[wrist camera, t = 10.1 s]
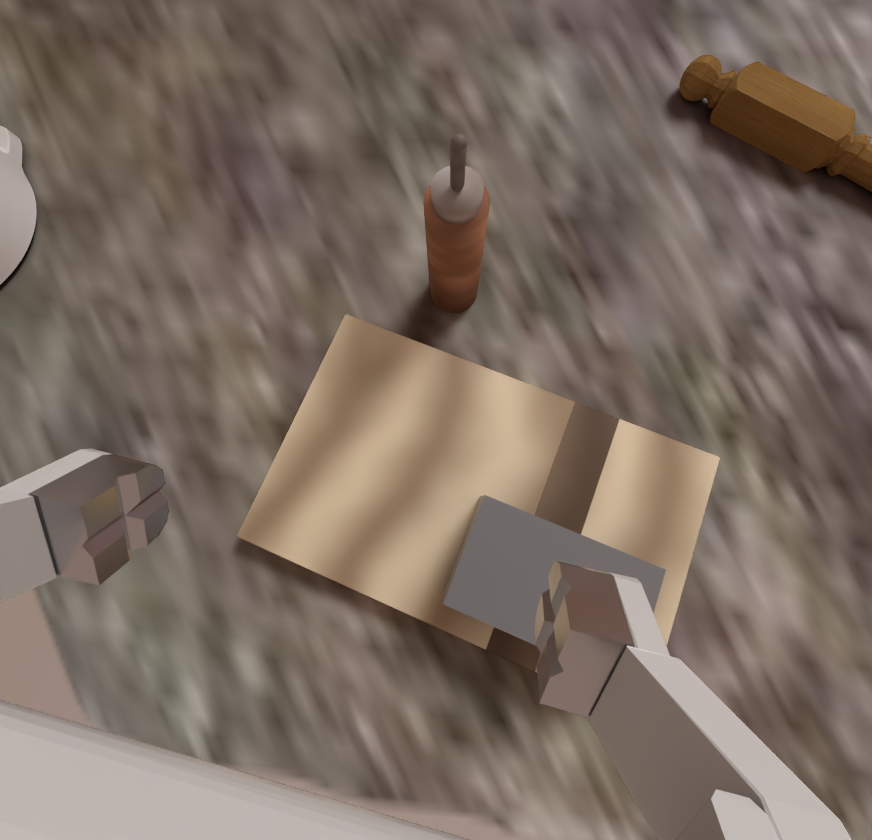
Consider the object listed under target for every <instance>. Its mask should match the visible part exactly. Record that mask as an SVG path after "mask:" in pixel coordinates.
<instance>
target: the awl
mask: <svg viewBox="0 0 872 840" xmlns="http://www.w3.org/2000/svg"><path fill="white" fill-rule="evenodd" d="M466 150H467V141H466V138H465V137H464V136H463V135H462V134H456V135H454V136H453V138H452V140H451V150H450V166H447V167H445V168H443V169H441V170H440V171H438V172H437V173H436V175H435V176H434V178H433V179H432V182H431V185H430V186H429V188H428V189H427V191H426V193H425V196H424V216H425V229H426V243H427V257H428V270H429V284H430V295H431V299H432V301H433V302H434V304H435V305H436V306H437V307H438V308H439V309H441V310H443V311H446V312H450V313H457V312H461V311H464V310H466V309H467V308H469V307H470V306H471V305H472V304H473V302H474V301H475V299H476V295H477V289H478V282H479V275H480V269H481V262H482V255H483V248H484V241H485V234H486V227H487V220H488V214H489V207H490V198H489V194H488V192H487V190H486V188H485V186H484V184H483V180H482V178H481V176H480V175H479V174H478V173H477V172H476V171H475V170H474V169H472V168H470V167H468V166H466Z"/></svg>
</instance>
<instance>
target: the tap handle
mask: <svg viewBox="0 0 872 840" xmlns="http://www.w3.org/2000/svg"><path fill="white" fill-rule="evenodd" d="M721 70H722V69H721V64H720V62H719V60H718V59H717V58H716V57H714V56H712V55H703V56H700V57H698V58H697V59H695V60H694V61H693V62H691V64H690V65H689V66H688V67H687V69H686V70H685V72H684V74H683V76H682V78H681V81H680V93H681V95H682V96H683V97H684V98H685V99H687V100H689V101H698V100H701V99H703V98H705V97H706V99H707V100H708V107H709V108H714V109H713V111H712V113H711V116H710V123H711V124H712V125H714V126H716V127H718V128H720V129H721V130H723V131H725V132H727V133H729V134H731V135H733V136H735V137H737V138H739V139H740V140H742V141H744V142H746V143H748V144H750V145H752V146H754V147H756V148H757V149H759V150H761V151H763V152H765V153H767V154H769V155H771V156H773V157H775V158H776V159H778V160H780V161H782V162H784V163H786V164H788V165H790V166H792V167H794V168H795V169H797V170H799V171H801V172H803V173H805V172H809V171H811V170H812V169H814V168H817V169H819V168H821V167H823V166H827V172H828V174H829V175H830V176H834V175H836V174H841V175H843V176H845V177H847V178H848V179H850V180H852V181H853V182H855V183H857V184H858V185H860V186H862V187H864V188H865V189H867V190H869V191H870V192H872V145H871V144H870V143H869V140H870V138H871V137H870V136H869V135H866V134H860V135H857V136H854V131H855V128H853V126H854V124H855V112H854V110H853V109H851V108H849V107H847V106H845V105H843V104H841V103H839V102H837V101H835V100H833V99H831V98H829V97H827V96H825V95H823V94H821V93H819V92H817V91H815V90H813V89H811V88H809V87H807V86H806V85H804V84H802V83H800V82H798V81H796V80H794V79H792V78H790V77H788V76H786V75H784V74H782V73H780V72H778V71H776V70H774V69H772V68H770V67H768V66H766V65H764V64H762V63H760V62H754V63H751V64H749V65H748V66H746V67H744V68H743V69H742V70H741V71H740V72H739V73H738V74H736V71H731V72H729V73H726V74H722V73H721Z"/></svg>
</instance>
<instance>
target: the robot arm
mask: <svg viewBox="0 0 872 840" xmlns="http://www.w3.org/2000/svg"><path fill="white" fill-rule="evenodd" d="M36 214H37V211H36V201H35V196H34V193H33V190H32V187H31V185H30V183H29V181H28V180H27V178H26V176H25V174H24V172H23V169H22V144H21V141H20V139H19V138H18V137H17V136H16V135H14V134H13V133H12V132H10V131H9V130H7V129H6V128H5V127H3V126H0V284H2V283H3V282H4V281H5V280H6V279H7V278H8V276H9V275H10V274H11V273H12V272H13V271H14V269H15V268H16V267H17V265H18V264H19V263H20V261H21V260H22V258H23V256H24V255H25V253H26V251H27V249H28V247H29V245H30V242H31V239H32V237H33V233H34V229H35V224H36ZM164 485H165V479H164V474H163V470H162V469H161V468H159V467H158V466H156V465H153V464H149V463H145V462H142V461H138V460H134V459H130V458H126V457H123V456H119V455H115V454H110V453H106V452H102V451H98V450H94V449H80V450H78V451H76V452H74V453H72V454H70V455H68V456H66V457H63V458H61V459H59V460H57V461H55V462H53V463H51V464H49V465H47V466H45V467H43V468H40V469H38V470H36V471H34V472H32V473H30V474H28V475H26V476H24V477H22V478H19V479H17V480H15V481H13V482H11V483H9V484H7V485H5V486H3V487H1V488H0V603H1V602H3V601H5V600H8V599H10V598H12V597H15V596H17V595H19V594H21V593H24V592H26V591H28V590H30V589H33V588H35V587H37V586H40V585H42V584H44V583H46V582H49V581H51V580H53V579H56V578H57V576H61V577H66V578H70V579H74V580H78V581H83V582H87V583H91V584H96V585H100V584H102V583H103V582H104V581H105V580H106V579H108V578H109V577H110V576H111V575H112V574H114V573H115V572H116V571H117V570H118V569H120V568H121V567H122V566H123V565H124V564H126V563H127V562H128V561H129V559H130V555H131V551H133V550H136V549H138V548H141V547H144V546H147V545H148V544H149V543H151V542H152V541H153V540H154V539H155V538H156V537H157V536H159V534H160V532H161V531H162V529H163V527H164V526H165V524H166V522H167V518H168V513H169V508H168V501H167V500H166V498H165V497H164V496H163V494H162V493H161V492H160V490H161V489H162V487H163V486H164ZM56 575H57V576H56ZM548 579H549V588H550V589H548V590H547V591H545V592H543V593H542V595H541V598H540V601H539V604H538V608H537V614H536V619H535V645H536V646H537V647H538V649H539V650H540V652H541V653H542V655H541V657H540V660H539V662H538V665H537V676H538V690H539V703H541V704H544V705H547V706H551V707H554V708H558V709H561V710H564V711H568V712H571V713H574V714H578V715H581V716H584V717H588V718H589V720H588V721H589V722H590V724H591V726H592V728H593V729H594V731H595V733H596V734H597V736H598V738H599V740H600V741H601V743H602V745H603V747H604V748H605V750H606V752H607V753H608V755H609V757H610V759H611V760H612V762H613V764H614V765H615V767H616V769H617V771H618V772H619V774H620V776H621V778H622V779H623V781H624V783H625V784H626V786H627V788H628V790H629V791H630V793H631V795H632V796H633V798H634V800H635V802H636V803H637V805H638V807H639V809H640V810H641V812H642V814H643V815H644V817H645V819H646V821H647V822H648V824H649V826H650V827H651V829H652V831H653V833H654V834H655V836H656V838H657V840H851V838H850V836H849V834H848V833H847V831H846V829H845V827H844V826H843V824H842V822H841V821H840V820H839V819H838V818H837V817H836V816H835V815H834V814H833V813H832V812H831V811H830V810H829V809H828V808H827V807H826V806H825V805H824V804H823V803H822V802H821V801H820V800H819V799H818V798H817V797H816V796H815V794H814V793H813V792H812V791H811V790H810V789H809V788H808V787H807V786H806V785H805V784H804V783H803V782H802V781H801V780H800V779H799V778H798V777H797V776H796V775H795V774H794V773H793V772H792V771H791V770H790V769H789V768H788V767H787V766H786V765H785V764H784V763H783V762H782V761H781V760H780V759H779V758H778V757H777V756H776V755H775V754H774V753H773V752H772V751H771V750H770V749H769V748H768V747H767V746H766V745H765V744H764V743H763V742H762V741H761V740H760V739H759V738H758V737H757V736H756V735H755V734H754V733H753V732H752V731H751V730H750V729H749V728H748V727H747V726H746V725H745V724H744V723H743V722H742V721H741V720H740V719H739V718H738V717H737V716H736V715H735V714H734V713H733V712H732V711H731V710H730V709H729V708H728V707H727V706H726V705H725V704H724V703H723V702H722V701H721V700H720V699H719V698H718V697H717V696H716V695H715V694H714V693H713V692H712V691H711V690H710V689H709V688H708V687H707V686H706V685H705V684H704V683H703V682H702V681H701V680H700V679H699V678H698V677H697V676H696V675H695V674H694V673H693V672H692V671H691V670H690V669H689V668H688V667H687V666H686V665H685V664H684V663H683V662H682V661H681V660H680V659H678V658H674V657H670V654H669V652H668V649H667V647H666V644H665V642H664V639H663V637H662V634H661V632H660V629H659V627H658V624H657V622H656V619H655V617H654V614H653V612H652V609H651V607H650V604H649V601H648V599H647V596H646V594H645V591H644V589H643V586H642V584H641V582H640V581H639V580H638V579H637V578H633V577H628V576H623V575H619V574H614V573H606V572H602V571H597V570H593V569H589V568H585V567H580V566H576V565H572V564H567V563H563V562H559V561H555V563H554V564H553V566H552V568H551V570H550V573H549V575H548ZM0 840H469V839H465V838H462V837H459V836H455V835H452V834H449V833H445V832H442V831H439V830H435V829H432V828H428V827H425V826H421V825H419V824H415V823H412V822H408V821H405V820H402V819H398V818H395V817H391V816H389V815H385V814H382V813H379V812H375V811H372V810H368V809H365V808H362V807H358V806H355V805H352V804H348V803H345V802H342V801H338V800H335V799H332V798H328V797H325V796H322V795H318V794H315V793H312V792H308V791H305V790H302V789H298V788H295V787H291V786H288V785H284V784H281V783H278V782H275V781H271V780H268V779H265V778H261V777H258V776H255V775H251V774H248V773H245V772H241V771H238V770H235V769H231V768H228V767H225V766H221V765H218V764H215V763H211V762H208V761H205V760H201V759H198V758H194V757H191V756H188V755H184V754H181V753H178V752H174V751H171V750H168V749H164V748H161V747H158V746H154V745H151V744H148V743H144V742H141V741H138V740H134V739H131V738H128V737H124V736H121V735H117V734H114V733H111V732H107V731H104V730H101V729H97V728H94V727H91V726H87V725H83V724H80V723H77V722H74V721H70V720H67V719H64V718H60V717H57V716H53V715H50V714H47V713H43V712H40V711H37V710H33V709H30V708H27V707H23V706H20V705H17V704H13V703H10V702H6V701H3V700H0Z"/></svg>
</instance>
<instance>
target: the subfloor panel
mask: <svg viewBox="0 0 872 840" xmlns="http://www.w3.org/2000/svg"><path fill="white" fill-rule="evenodd" d="M719 459H720V457H717V456H714V455H712V454H709V453H707V452H704V451H701V450H699V449H696V448H694V447H691V446H688V445H686V444H683V443H681V442H678V441H675V440H673V439H670V438H668V437H665V436H662V435H660V434H657V433H654V432H652V431H649V430H647V429H644V428H641V427H639V426H636V425H634V424H631V423H628V422H626V421H623V420H621V419H618V418H615V417H613V416H610V415H608V414H605V413H602V412H600V411H597V410H594V409H592V408H589V407H587V406H584V405H581V404H579V403H576V402H574V401H571V400H568V399H566V398H563V397H561V396H558V395H555V394H553V393H550V392H548V391H545V390H542V389H540V388H537V387H534V386H532V385H529V384H527V383H524V382H521V381H519V380H516V379H514V378H511V377H508V376H506V375H503V374H501V373H498V372H495V371H493V370H490V369H488V368H485V367H482V366H480V365H477V364H474V363H472V362H469V361H467V360H464V359H461V358H459V357H456V356H454V355H451V354H448V353H446V352H443V351H441V350H438V349H435V348H433V347H430V346H428V345H425V344H422V343H420V342H417V341H414V340H412V339H409V338H407V337H404V336H401V335H399V334H396V333H394V332H391V331H388V330H386V329H383V328H381V327H378V326H375V325H373V324H370V323H368V322H365V321H362V320H360V319H357V318H354V317H352V316H349V315H347V314H346V315H345V317H344V319H343V321H342V323H341V325H340V327H339V329H338V331H337V333H336V335H335V337H334V339H333V341H332V343H331V345H330V347H329V349H328V351H327V353H326V355H325V357H324V359H323V361H322V363H321V366H320V368H319V370H318V372H317V374H316V376H315V378H314V380H313V382H312V384H311V386H310V388H309V390H308V392H307V394H306V396H305V398H304V400H303V402H302V404H301V406H300V408H299V410H298V412H297V414H296V416H295V418H294V421H293V423H292V425H291V427H290V429H289V431H288V433H287V435H286V437H285V439H284V441H283V443H282V445H281V447H280V449H279V451H278V453H277V455H276V457H275V459H274V461H273V463H272V465H271V467H270V469H269V471H268V474H267V476H266V478H265V480H264V482H263V484H262V486H261V488H260V490H259V492H258V494H257V496H256V498H255V500H254V502H253V504H252V506H251V508H250V510H249V512H248V514H247V516H246V518H245V520H244V522H243V524H242V527H241V529H240V531H239V533H238V535H237V537H239V538H241V539H244V540H246V541H248V542H250V543H252V544H255V545H257V546H259V547H261V548H263V549H266V550H268V551H270V552H272V553H274V554H277V555H279V556H281V557H283V558H285V559H288V560H290V561H292V562H294V563H296V564H299V565H301V566H303V567H305V568H307V569H310V570H312V571H314V572H316V573H318V574H320V575H323V576H325V577H327V578H329V579H331V580H334V581H336V582H338V583H340V584H342V585H345V586H347V587H349V588H351V589H353V590H356V591H358V592H360V593H362V594H364V595H367V596H369V597H371V598H373V599H375V600H378V601H380V602H382V603H384V604H386V605H389V606H391V607H393V608H395V609H397V610H400V611H402V612H404V613H406V614H408V615H411V616H413V617H415V618H417V619H419V620H422V621H424V622H426V623H428V624H430V625H433V626H435V627H437V628H439V629H441V630H444V631H446V632H448V633H450V634H452V635H455V636H457V637H459V638H461V639H463V640H466V641H468V642H470V643H472V644H474V645H477V646H479V647H481V648H483V649H485V650H488V651H490V652H492V653H494V654H496V655H499V656H501V657H503V658H505V659H507V660H510V661H512V662H514V663H516V664H518V665H521V666H523V667H525V668H527V669H529V670H532V671H534V672H536V673H537V665H538V662H539V660H540V657H541V655H542V653H541V652H540V650H539V649H538V647H537V646H536V645H533V644H531V643H529V642H527V641H524V640H522V639H520V638H518V637H515V636H513V635H511V634H509V633H506V632H504V631H502V630H500V629H497V628H495V627H493V626H491V625H488V624H486V623H484V622H482V621H479V620H477V619H475V618H473V617H470V616H468V615H466V614H464V613H461V612H459V611H457V610H455V609H452V608H450V607H448V606H446V605H443V596H444V589H445V586H446V583H447V581H448V578H449V576H450V573H451V571H452V568H453V565H454V563H455V560H456V558H457V555H458V552H459V550H460V547H461V545H462V542H463V539H464V537H465V534H466V532H467V529H468V526H469V524H470V521H471V519H472V516H473V513H474V511H475V508H476V506H477V503H478V500H479V498H480V496H483V495H486V496H489V497H491V498H494V499H496V500H499V501H501V502H503V503H506V504H508V505H511V506H513V507H516V508H518V509H520V510H523V511H525V512H528V513H530V514H532V515H535V516H537V517H540V518H542V519H545V520H547V521H549V522H552V523H554V524H557V525H559V526H562V527H564V528H566V529H569V530H571V531H574V532H576V533H578V534H581V535H583V536H586V537H588V538H591V539H593V540H595V541H598V542H600V543H603V544H605V545H608V546H610V547H612V548H615V549H617V550H620V551H622V552H624V553H627V554H629V555H632V556H634V557H637V558H639V559H641V560H644V561H646V562H649V563H651V564H654V565H656V566H658V567H661V568H663V569H666V572H665V575H664V579H663V582H662V586H661V589H660V593H659V596H658V600H657V603H656V606H655V610H654V613H653V614H654V617H655V619H656V622H657V624H658V627H659V629H660V632H661V634H662V637H663V639H664V642H665V644H666V646H667V643H668V639H669V636H670V632H671V629H672V625H673V622H674V618H675V615H676V611H677V608H678V604H679V600H680V597H681V593H682V590H683V586H684V583H685V579H686V576H687V572H688V569H689V565H690V562H691V558H692V554H693V551H694V547H695V544H696V540H697V537H698V533H699V530H700V526H701V523H702V519H703V516H704V512H705V509H706V505H707V501H708V498H709V494H710V491H711V487H712V484H713V480H714V477H715V473H716V470H717V466H718V463H719Z"/></svg>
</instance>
